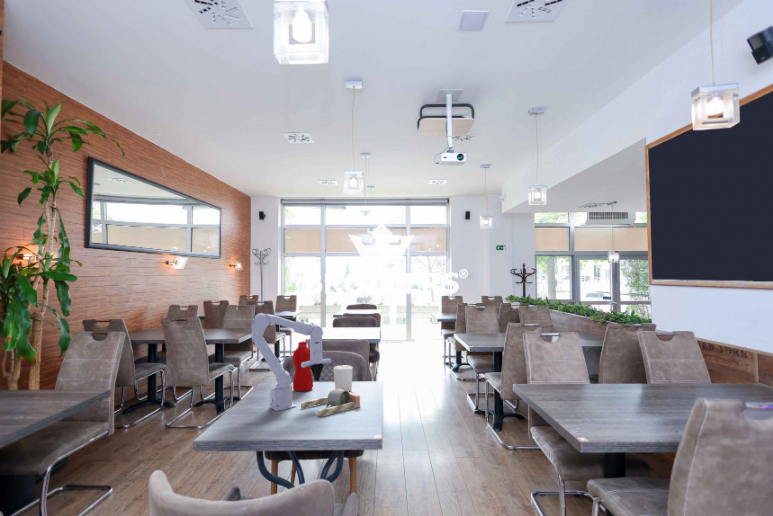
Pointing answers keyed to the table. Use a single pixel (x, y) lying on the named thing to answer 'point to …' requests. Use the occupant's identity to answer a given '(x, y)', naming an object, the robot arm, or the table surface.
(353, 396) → the end stop
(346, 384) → the candle holder
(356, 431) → the table surface
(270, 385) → the table surface
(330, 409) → the rails
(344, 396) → the ceramic mug
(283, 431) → the table surface
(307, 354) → the water bottle
